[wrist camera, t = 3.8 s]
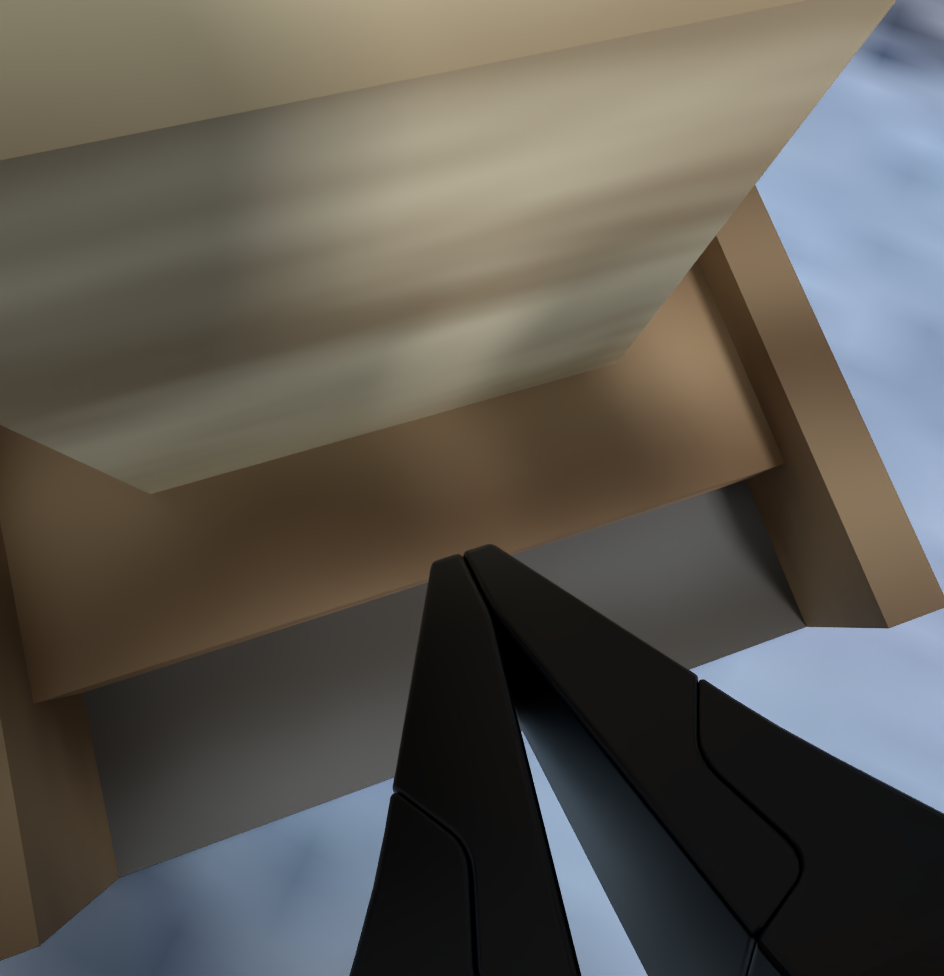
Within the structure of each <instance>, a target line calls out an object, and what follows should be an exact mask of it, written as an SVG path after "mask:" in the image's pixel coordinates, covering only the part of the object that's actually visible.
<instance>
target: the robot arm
mask: <svg viewBox="0 0 944 976" xmlns="http://www.w3.org/2000/svg"><path fill="white" fill-rule="evenodd" d="M519 725H520V726H519ZM520 727H521V729H522V731H523V733H524V735H525V737H526V739H527V740H528V742H529V744H530V746H531V748H532V750H533V752H534V754H535V756H536V758H537V760H538V762H539V764H540V766H541V768H542V770H543V772H544V774H545V776H546V778H547V780H548V782H549V783H550V785H551V787H552V789H553V791H554V793H555V795H556V797H557V799H558V801H559V803H560V805H561V807H562V809H563V811H564V813H565V815H566V817H567V819H568V821H569V823H570V824H571V826H572V828H573V830H574V832H575V834H576V836H577V838H578V840H579V842H580V844H581V846H582V848H583V850H584V852H585V854H586V856H587V858H588V860H589V862H590V864H591V866H592V867H593V869H594V871H595V873H596V875H597V877H598V879H599V881H600V883H601V885H602V887H603V889H604V891H605V893H606V895H607V897H608V899H609V901H610V903H611V905H612V907H613V908H614V910H615V912H616V914H617V916H618V918H619V920H620V922H621V924H622V926H623V928H624V930H625V932H626V934H627V936H628V938H629V940H630V942H631V944H632V946H633V948H634V949H635V951H636V953H637V955H638V957H639V959H640V961H641V963H642V965H643V967H644V969H645V971H646V973H647V975H648V976H944V813H942V812H940V811H938V810H936V809H934V808H932V807H930V806H928V805H926V804H924V803H922V802H920V801H919V800H917V799H915V798H913V797H911V796H909V795H907V794H905V793H903V792H901V791H899V790H897V789H895V788H894V787H892V786H890V785H888V784H886V783H884V782H882V781H880V780H878V779H876V778H874V777H872V776H871V775H869V774H867V773H865V772H863V771H861V770H859V769H857V768H855V767H853V766H851V765H849V764H847V763H846V762H844V761H842V760H840V759H838V758H836V757H834V756H832V755H830V754H829V753H827V752H825V751H823V750H821V749H820V748H818V747H816V746H814V745H812V744H810V743H809V742H807V741H805V740H803V739H801V738H799V737H798V736H796V735H794V734H792V733H790V732H789V731H787V730H785V729H783V728H781V727H779V726H778V725H776V724H774V723H773V722H771V721H770V720H768V719H766V718H765V717H763V716H761V715H760V714H758V713H756V712H755V711H753V710H751V709H750V708H748V707H747V706H745V705H743V704H742V703H740V702H738V701H737V700H735V699H733V698H732V697H730V696H729V695H727V694H726V693H724V692H723V691H721V690H719V689H718V688H716V687H715V686H713V685H712V684H710V683H709V682H707V681H706V680H703V679H702V680H700V681H699V682H698V677H697V675H696V674H694V673H693V672H691V671H690V670H688V669H686V668H685V667H683V666H682V665H680V664H679V663H677V662H676V661H674V660H672V659H671V658H669V657H668V656H666V655H665V654H663V653H662V652H660V651H658V650H657V649H655V648H654V647H652V646H651V645H649V644H648V643H646V642H644V641H643V640H641V639H640V638H638V637H637V636H635V635H634V634H632V633H630V632H629V631H627V630H626V629H624V628H623V627H621V626H620V625H618V624H616V623H615V622H613V621H612V620H610V619H609V618H607V617H606V616H604V615H603V614H601V613H599V612H598V611H596V610H595V609H593V608H592V607H590V606H589V605H587V604H585V603H584V602H582V601H581V600H579V599H578V598H576V597H575V596H573V595H571V594H570V593H568V592H567V591H565V590H564V589H562V588H561V587H559V586H557V585H556V584H554V583H553V582H551V581H550V580H548V579H547V578H545V577H543V576H542V575H540V574H539V573H537V572H536V571H534V570H533V569H531V568H529V567H528V566H526V565H525V564H523V563H522V562H520V561H519V560H517V559H515V558H514V557H512V556H511V555H509V554H508V553H506V552H505V551H503V550H502V549H500V548H498V547H497V546H495V545H493V544H486V545H483V546H480V547H477V548H473V549H470V550H467V551H465V553H464V555H463V556H462V555H460V554H455V555H451V556H448V557H445V558H442V559H439V560H436V561H434V562H433V563H432V565H431V568H430V574H429V580H428V586H427V591H426V597H425V603H424V609H423V615H422V620H421V626H420V632H419V638H418V644H417V650H416V655H415V661H414V667H413V673H412V679H411V684H410V690H409V696H408V702H407V708H406V713H405V719H404V725H403V731H402V737H401V742H400V748H399V754H398V760H397V766H396V772H395V777H394V783H393V791H394V794H392V796H391V798H390V804H389V810H388V816H387V821H386V827H385V833H384V838H383V842H382V847H381V852H380V857H379V862H378V867H377V872H376V877H375V881H374V886H373V890H372V894H371V898H370V902H369V906H368V909H367V913H366V917H365V921H364V925H363V928H362V932H361V936H360V940H359V944H358V947H357V951H356V955H355V958H354V962H353V965H352V969H351V972H350V975H349V976H581V972H580V968H579V964H578V960H577V956H576V952H575V948H574V944H573V940H572V936H571V932H570V928H569V924H568V920H567V916H566V912H565V908H564V903H563V899H562V895H561V891H560V887H559V883H558V879H557V875H556V871H555V867H554V863H553V859H552V855H551V851H550V847H549V843H548V839H547V835H546V831H545V827H544V823H543V819H542V815H541V811H540V807H539V802H538V798H537V794H536V790H535V786H534V782H533V778H532V774H531V770H530V766H529V762H528V758H527V754H526V750H525V746H524V742H523V738H522V734H521V730H520Z"/></svg>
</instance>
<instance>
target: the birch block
mask: <svg viewBox="0 0 944 976" xmlns="http://www.w3.org/2000/svg"><path fill="white" fill-rule="evenodd" d="M895 2H896V0H0V425H1V426H4V427H6V428H8V429H10V430H12V431H14V432H17V433H19V434H21V435H23V436H25V437H27V438H30V439H32V440H34V441H36V442H38V443H40V444H43V445H45V446H47V447H49V448H51V449H53V450H56V451H58V452H60V453H62V454H64V455H66V456H69V457H71V458H73V459H75V460H77V461H79V462H82V463H84V464H86V465H88V466H90V467H92V468H95V469H97V470H99V471H101V472H103V473H105V474H108V475H110V476H112V477H114V478H116V479H118V480H121V481H123V482H125V483H127V484H129V485H131V486H134V487H136V488H138V489H140V490H142V491H144V492H147V493H149V494H153V493H156V492H160V491H164V490H167V489H171V488H174V487H178V486H181V485H185V484H189V483H192V482H196V481H199V480H203V479H206V478H210V477H213V476H217V475H221V474H224V473H228V472H231V471H235V470H238V469H242V468H246V467H249V466H253V465H256V464H260V463H263V462H267V461H270V460H274V459H278V458H281V457H285V456H288V455H292V454H295V453H299V452H303V451H306V450H310V449H313V448H317V447H320V446H324V445H327V444H331V443H335V442H338V441H342V440H345V439H349V438H352V437H356V436H359V435H363V434H367V433H370V432H374V431H377V430H381V429H384V428H388V427H392V426H395V425H399V424H402V423H406V422H409V421H413V420H416V419H420V418H424V417H427V416H431V415H434V414H438V413H441V412H445V411H449V410H452V409H456V408H459V407H463V406H466V405H470V404H473V403H477V402H481V401H484V400H488V399H491V398H495V397H498V396H502V395H505V394H509V393H513V392H516V391H520V390H523V389H527V388H530V387H534V386H538V385H541V384H545V383H548V382H552V381H555V380H559V379H562V378H566V377H570V376H573V375H577V374H580V373H584V372H587V371H591V370H595V369H598V368H602V367H605V366H609V365H612V364H616V363H618V362H619V361H620V359H621V358H622V357H623V356H624V354H625V353H626V352H627V350H628V349H629V348H630V346H631V345H632V344H633V343H634V341H635V340H636V339H637V337H638V336H639V335H640V333H641V332H642V331H643V330H644V328H645V327H646V326H647V324H648V323H649V322H650V320H651V319H652V318H653V317H654V315H655V314H656V313H657V311H658V310H659V309H660V307H661V306H662V305H663V304H664V302H665V301H666V300H667V298H668V297H669V296H670V294H671V293H672V292H673V291H674V289H675V288H676V287H677V285H678V284H679V283H680V281H681V280H682V279H683V278H684V276H685V275H686V274H687V272H688V271H689V270H690V268H691V267H692V266H693V265H694V263H695V262H696V261H697V259H698V258H699V257H700V255H701V254H702V253H703V252H704V250H705V249H706V248H707V246H708V245H709V244H710V242H711V241H712V240H713V239H714V237H715V236H716V235H717V233H718V232H719V231H720V229H721V228H722V227H723V226H724V224H725V223H726V222H727V220H728V219H729V218H730V216H731V215H732V214H733V212H734V211H735V210H736V209H737V207H738V206H739V205H740V203H741V202H742V201H743V199H744V198H745V197H746V196H747V194H748V193H749V192H750V190H751V189H752V188H753V186H754V185H755V184H756V183H757V181H758V180H759V179H760V177H761V176H762V175H763V173H764V172H765V171H766V170H767V168H768V167H769V166H770V164H771V163H772V162H773V160H774V159H775V158H776V157H777V155H778V154H779V153H780V151H781V150H782V149H783V147H784V146H785V145H786V144H787V142H788V141H789V140H790V138H791V137H792V136H793V134H794V133H795V132H796V131H797V129H798V128H799V127H800V125H801V124H802V123H803V121H804V120H805V119H806V118H807V116H808V115H809V114H810V112H811V111H812V110H813V108H814V107H815V106H816V105H817V103H818V102H819V101H820V99H821V98H822V97H823V95H824V94H825V93H826V92H827V90H828V89H829V88H830V86H831V85H832V84H833V82H834V81H835V80H836V79H837V77H838V76H839V75H840V73H841V72H842V71H843V69H844V68H845V67H846V65H847V64H848V63H849V62H850V60H851V59H852V58H853V56H854V55H855V54H856V52H857V51H858V50H859V49H860V47H861V46H862V45H863V43H864V42H865V41H866V39H867V38H868V37H869V36H870V34H871V33H872V32H873V30H874V29H875V28H876V26H877V25H878V24H879V23H880V21H881V20H882V19H883V17H884V16H885V15H886V13H887V12H888V11H889V10H890V8H891V7H892V6H893V4H894V3H895Z"/></svg>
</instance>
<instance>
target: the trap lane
mask: <svg viewBox="0 0 944 976" xmlns="http://www.w3.org/2000/svg"><path fill="white" fill-rule="evenodd" d="M486 544H493V545H495V546H497V547H498V548H500V549H502V550H503V551H505V552H506V553H508V554H509V555H511V556H512V557H514V558H515V559H517V560H519V561H520V562H522V563H523V564H525V565H526V566H528V567H529V568H531V569H533V570H534V571H536V572H537V573H539V574H540V575H542V576H543V577H545V578H547V579H548V580H550V581H551V582H553V583H554V584H556V585H557V586H559V587H561V588H562V589H564V590H565V591H567V592H568V593H570V594H571V595H573V596H575V597H576V598H578V599H579V600H581V601H582V602H584V603H585V604H587V605H589V606H590V607H592V608H593V609H595V610H596V611H598V612H599V613H601V614H603V615H604V616H606V617H607V618H609V619H610V620H612V621H613V622H615V623H616V624H618V625H620V626H621V627H623V628H624V629H626V630H627V631H629V632H630V633H632V634H634V635H635V636H637V637H638V638H640V639H641V640H643V641H644V642H646V643H648V644H649V645H651V646H652V647H654V648H655V649H657V650H658V651H660V652H662V653H663V654H665V655H666V656H668V657H669V658H671V659H672V660H674V661H676V662H677V663H679V664H680V665H682V666H683V667H685V668H686V669H688V670H689V669H692V668H695V667H697V666H700V665H703V664H706V663H708V662H711V661H714V660H717V659H719V658H722V657H725V656H727V655H730V654H733V653H736V652H738V651H741V650H744V649H747V648H749V647H752V646H755V645H758V644H760V643H763V642H766V641H769V640H771V639H774V638H777V637H779V636H782V635H785V634H788V633H790V632H793V631H796V630H799V629H801V628H804V627H849V628H891V627H894V626H896V625H899V624H902V623H904V622H907V621H910V620H912V619H915V618H918V617H920V616H923V615H926V614H928V613H931V612H934V611H936V610H939V609H942V608H944V595H943V592H942V590H941V588H940V586H939V584H938V582H937V579H936V577H935V575H934V573H933V571H932V569H931V566H930V564H929V562H928V560H927V558H926V556H925V553H924V551H923V549H922V547H921V545H920V542H919V540H918V538H917V536H916V534H915V532H914V529H913V527H912V525H911V523H910V521H909V519H908V516H907V514H906V512H905V510H904V508H903V506H902V503H901V501H900V499H899V497H898V495H897V492H896V490H895V488H894V486H893V484H892V482H891V479H890V477H889V475H888V473H887V471H886V469H885V466H884V464H883V462H882V460H881V458H880V456H879V453H878V451H877V449H876V447H875V445H874V443H873V440H872V438H871V436H870V434H869V432H868V429H867V427H866V425H865V423H864V421H863V419H862V416H861V414H860V412H859V410H858V408H857V406H856V403H855V401H854V399H853V397H852V395H851V393H850V390H849V388H848V386H847V384H846V382H845V379H844V377H843V375H842V373H841V371H840V369H839V366H838V364H837V362H836V360H835V358H834V356H833V353H832V351H831V349H830V347H829V345H828V343H827V340H826V338H825V336H824V334H823V332H822V330H821V327H820V325H819V323H818V321H817V319H816V316H815V314H814V312H813V310H812V308H811V306H810V303H809V301H808V299H807V297H806V295H805V293H804V290H803V288H802V286H801V284H800V282H799V280H798V277H797V275H796V273H795V271H794V269H793V266H792V264H791V262H790V260H789V258H788V256H787V253H786V251H785V249H784V247H783V245H782V243H781V240H780V238H779V236H778V234H777V232H776V230H775V227H774V225H773V223H772V221H771V219H770V216H769V214H768V212H767V210H766V208H765V206H764V203H763V201H762V199H761V197H760V195H759V193H758V190H757V188H756V186H755V185H754V186H753V188H752V189H751V190H750V192H749V193H748V194H747V196H746V197H745V198H744V199H743V201H742V202H741V203H740V205H739V206H738V207H737V209H736V210H735V211H734V212H733V214H732V215H731V216H730V218H729V219H728V220H727V222H726V223H725V224H724V226H723V227H722V228H721V229H720V231H719V232H718V233H717V235H716V236H715V237H714V239H713V240H712V241H711V242H710V244H709V245H708V246H707V248H706V249H705V250H704V252H703V253H702V254H701V255H700V257H699V258H698V259H697V261H696V262H695V263H694V265H693V266H692V267H691V268H690V270H689V271H688V272H687V274H686V275H685V276H684V278H683V279H682V280H681V281H680V283H679V284H678V285H677V287H676V288H675V289H674V291H673V292H672V293H671V294H670V296H669V297H668V298H667V300H666V301H665V302H664V304H663V305H662V306H661V307H660V309H659V310H658V311H657V313H656V314H655V315H654V317H653V318H652V319H651V320H650V322H649V323H648V324H647V326H646V327H645V328H644V330H643V331H642V332H641V333H640V335H639V336H638V337H637V339H636V340H635V341H634V343H633V344H632V345H631V346H630V348H629V349H628V350H627V352H626V353H625V354H624V356H623V357H622V358H621V359H620V361H619V362H618V363H616V364H612V365H609V366H605V367H602V368H598V369H595V370H591V371H587V372H584V373H580V374H577V375H573V376H570V377H566V378H562V379H559V380H555V381H552V382H548V383H545V384H541V385H538V386H534V387H530V388H527V389H523V390H520V391H516V392H513V393H509V394H505V395H502V396H498V397H495V398H491V399H488V400H484V401H481V402H477V403H473V404H470V405H466V406H463V407H459V408H456V409H452V410H449V411H445V412H441V413H438V414H434V415H431V416H427V417H424V418H420V419H416V420H413V421H409V422H406V423H402V424H399V425H395V426H392V427H388V428H384V429H381V430H377V431H374V432H370V433H367V434H363V435H359V436H356V437H352V438H349V439H345V440H342V441H338V442H335V443H331V444H327V445H324V446H320V447H317V448H313V449H310V450H306V451H303V452H299V453H295V454H292V455H288V456H285V457H281V458H278V459H274V460H270V461H267V462H263V463H260V464H256V465H253V466H249V467H246V468H242V469H238V470H235V471H231V472H228V473H224V474H221V475H217V476H213V477H210V478H206V479H203V480H199V481H196V482H192V483H189V484H185V485H181V486H178V487H174V488H171V489H167V490H164V491H160V492H156V493H153V494H149V493H147V492H144V491H142V490H140V489H138V488H136V487H134V486H131V485H129V484H127V483H125V482H123V481H121V480H118V479H116V478H114V477H112V476H110V475H108V474H105V473H103V472H101V471H99V470H97V469H95V468H92V467H90V466H88V465H86V464H84V463H82V462H79V461H77V460H75V459H73V458H71V457H69V456H66V455H64V454H62V453H60V452H58V451H56V450H53V449H51V448H49V447H47V446H45V445H43V444H40V443H38V442H36V441H34V440H32V439H30V438H27V437H25V436H23V435H21V434H19V433H17V432H14V431H12V430H10V429H8V428H6V427H4V426H1V425H0V961H1V960H3V959H6V958H9V957H11V956H14V955H17V954H19V953H22V952H25V951H27V950H30V949H33V948H35V947H38V946H40V945H41V944H42V943H44V942H45V941H46V940H47V939H48V938H49V937H51V936H52V935H53V934H54V933H55V932H56V931H58V930H59V929H60V928H61V927H62V926H63V925H65V924H66V923H67V922H68V921H69V920H70V919H72V918H73V917H74V916H75V915H76V914H77V913H79V912H80V911H81V910H82V909H83V908H84V907H86V906H87V905H88V904H89V903H90V902H91V901H93V900H94V899H95V898H96V897H97V896H98V895H100V894H101V893H102V892H103V891H104V890H105V889H107V888H108V887H109V886H110V885H111V884H112V883H114V882H115V881H116V880H117V879H118V878H120V877H123V876H125V875H128V874H131V873H134V872H136V871H139V870H142V869H145V868H147V867H150V866H153V865H156V864H158V863H161V862H164V861H166V860H169V859H172V858H175V857H177V856H180V855H183V854H186V853H188V852H191V851H194V850H197V849H199V848H202V847H205V846H208V845H210V844H213V843H216V842H218V841H221V840H224V839H227V838H229V837H232V836H235V835H238V834H240V833H243V832H246V831H249V830H251V829H254V828H257V827H260V826H262V825H265V824H268V823H270V822H273V821H276V820H279V819H281V818H284V817H287V816H290V815H292V814H295V813H298V812H301V811H303V810H306V809H309V808H312V807H314V806H317V805H320V804H322V803H325V802H328V801H331V800H333V799H336V798H339V797H342V796H344V795H347V794H350V793H353V792H355V791H358V790H361V789H364V788H366V787H369V786H372V785H374V784H377V783H380V782H383V781H385V780H388V779H391V778H394V777H395V772H396V766H397V760H398V754H399V748H400V742H401V737H402V731H403V725H404V719H405V713H406V708H407V702H408V696H409V690H410V684H411V679H412V673H413V667H414V661H415V655H416V650H417V644H418V638H419V632H420V626H421V620H422V615H423V609H424V603H425V597H426V591H427V586H428V580H429V574H430V568H431V565H432V563H433V562H434V561H436V560H439V559H442V558H445V557H448V556H451V555H455V554H460V555H462V556H463V555H464V553H465V551H467V550H470V549H473V548H477V547H480V546H483V545H486ZM519 726H520V725H519ZM520 730H521V731H522V729H521V727H520Z"/></svg>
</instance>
